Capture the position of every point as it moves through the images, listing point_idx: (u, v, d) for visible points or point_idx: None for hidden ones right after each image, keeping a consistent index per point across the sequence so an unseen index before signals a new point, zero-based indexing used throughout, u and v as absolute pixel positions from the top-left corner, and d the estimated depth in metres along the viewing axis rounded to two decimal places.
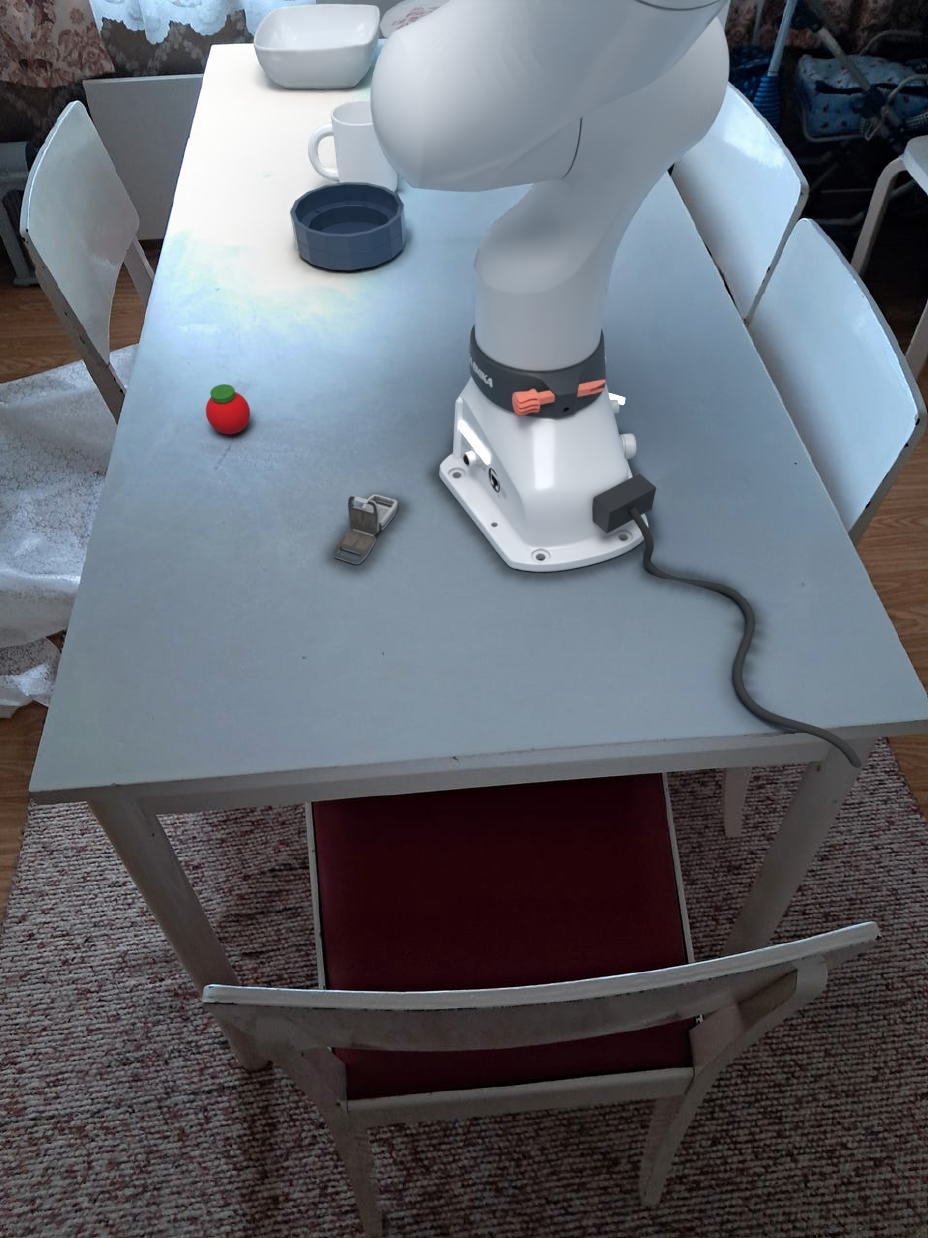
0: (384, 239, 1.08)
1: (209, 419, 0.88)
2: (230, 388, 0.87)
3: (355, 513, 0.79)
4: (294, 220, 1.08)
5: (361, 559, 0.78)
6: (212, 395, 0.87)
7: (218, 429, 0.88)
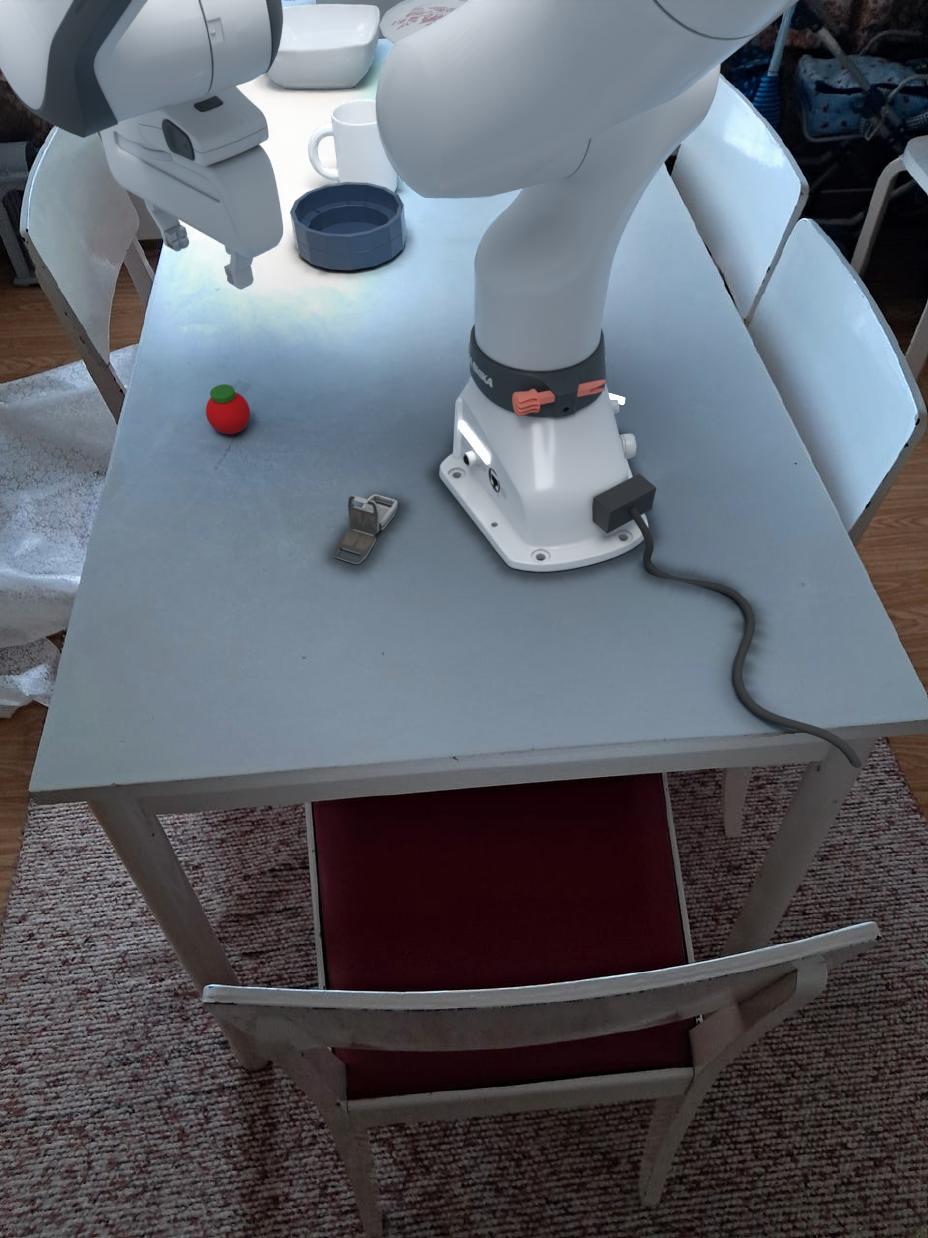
0: (384, 239, 1.08)
1: (209, 419, 0.88)
2: (230, 388, 0.87)
3: (355, 513, 0.79)
4: (294, 220, 1.08)
5: (361, 559, 0.78)
6: (212, 395, 0.87)
7: (218, 429, 0.88)
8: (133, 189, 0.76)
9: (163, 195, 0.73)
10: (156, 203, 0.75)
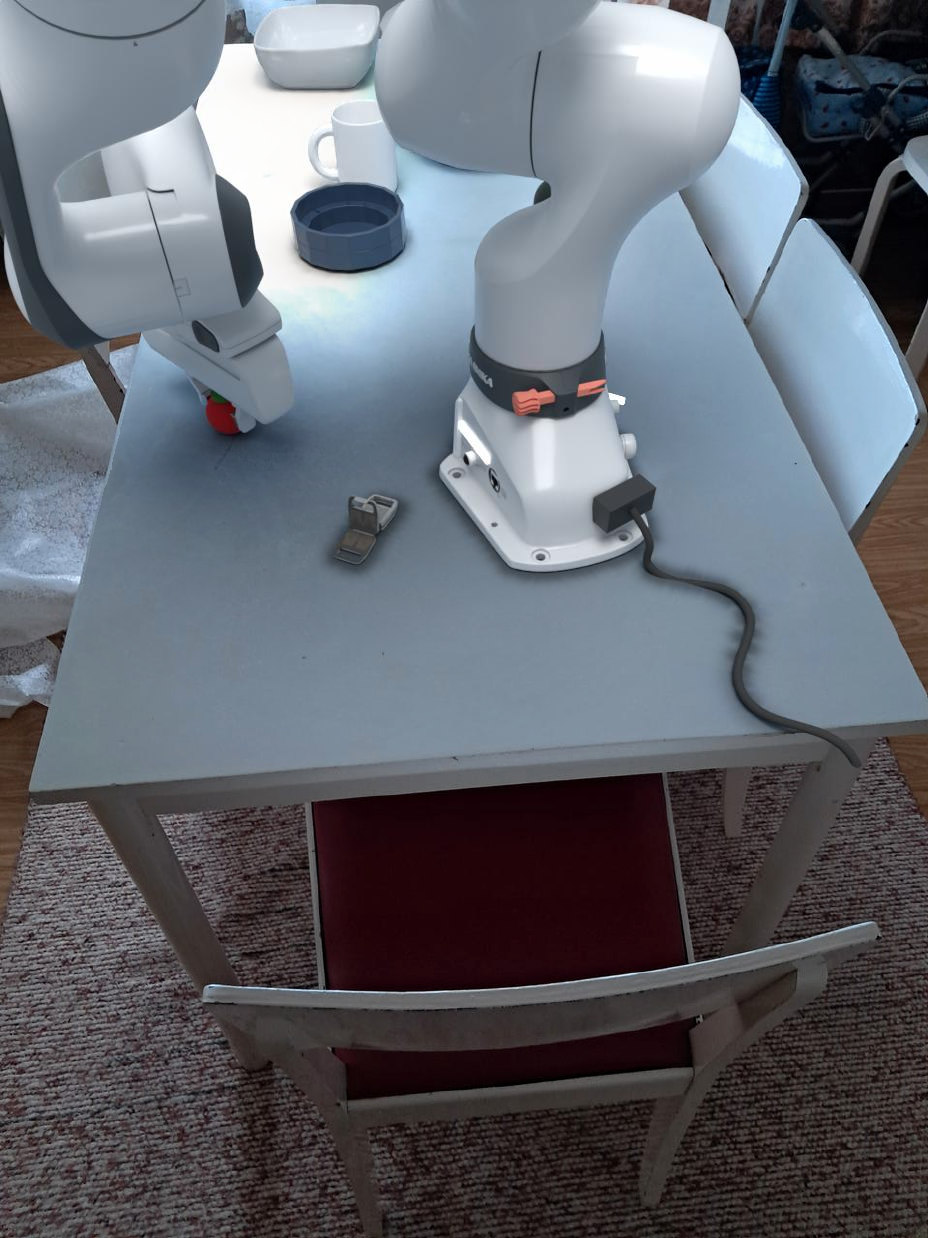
0: (384, 239, 1.08)
1: (209, 419, 0.88)
2: None
3: (355, 513, 0.79)
4: (294, 220, 1.08)
5: (361, 559, 0.78)
6: (212, 395, 0.87)
7: (218, 429, 0.88)
8: (163, 354, 0.87)
9: (190, 364, 0.84)
10: (184, 368, 0.86)
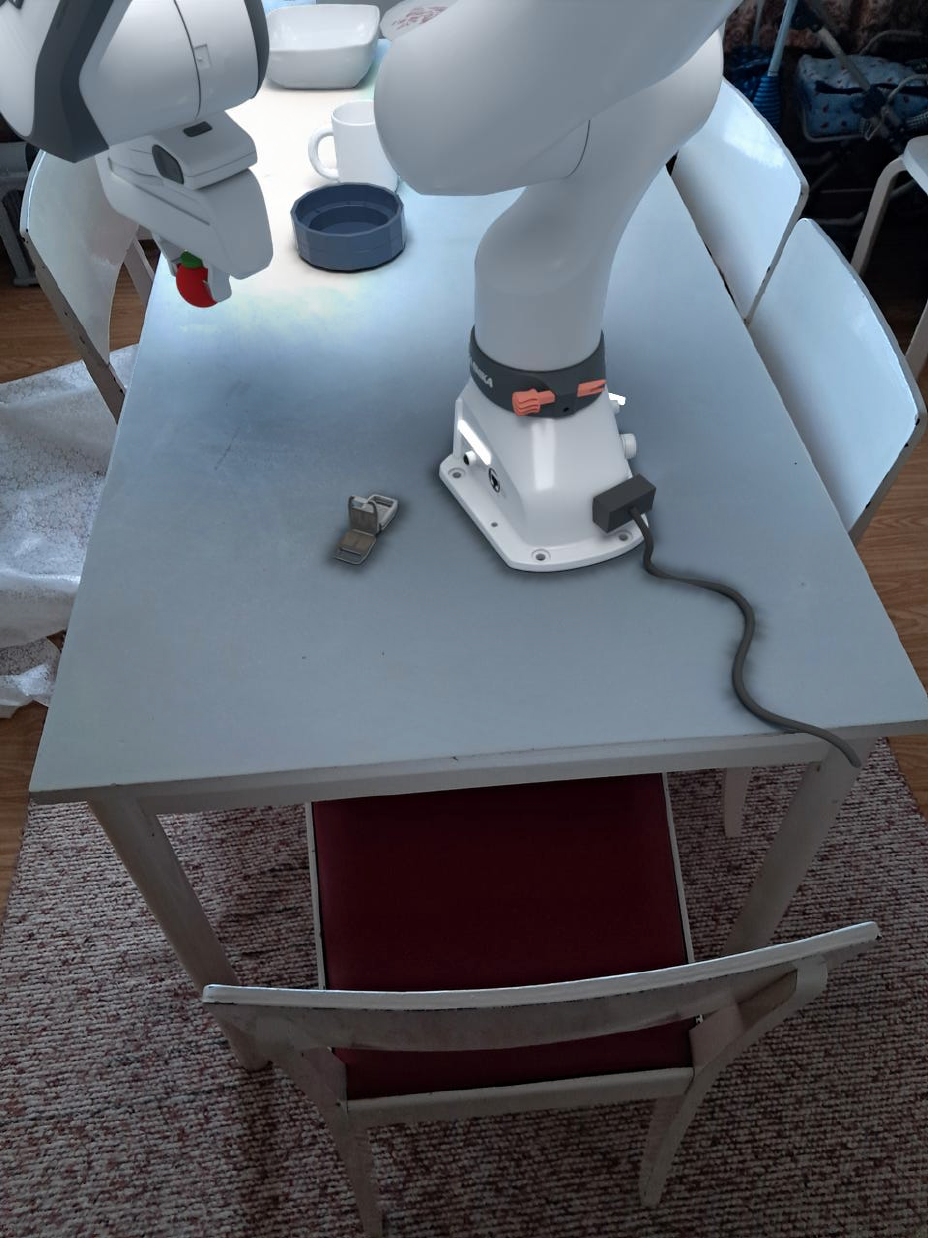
0: (384, 239, 1.08)
1: (179, 288, 0.78)
2: None
3: (355, 513, 0.79)
4: (294, 220, 1.08)
5: (361, 559, 0.78)
6: (182, 259, 0.77)
7: (189, 300, 0.79)
8: (127, 213, 0.77)
9: (155, 219, 0.74)
10: (150, 227, 0.76)
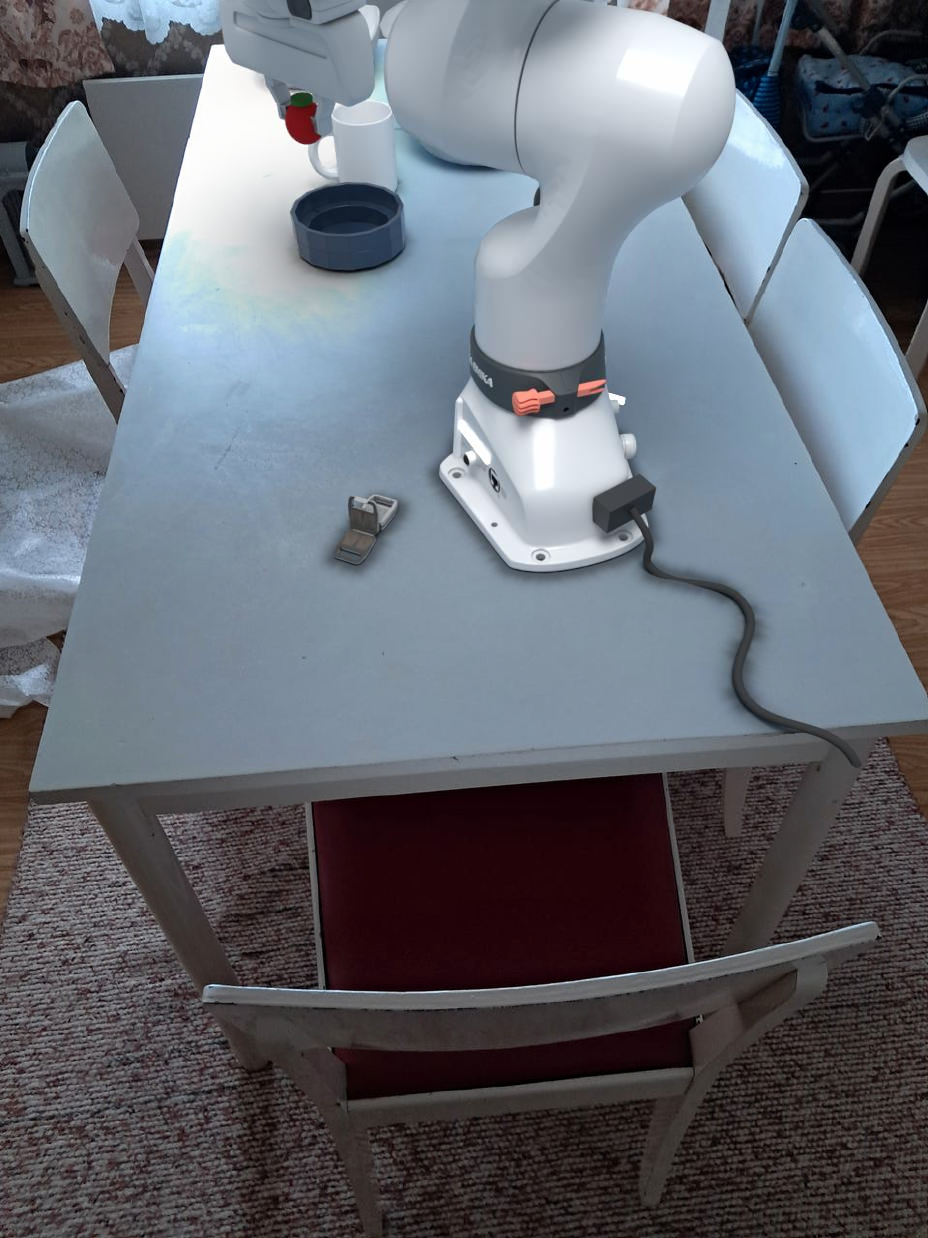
0: (384, 239, 1.08)
1: (289, 125, 0.95)
2: (308, 94, 0.94)
3: (355, 513, 0.79)
4: (294, 220, 1.08)
5: (361, 559, 0.78)
6: (292, 99, 0.93)
7: (297, 136, 0.95)
8: (246, 62, 0.94)
9: (274, 62, 0.91)
10: (266, 71, 0.92)
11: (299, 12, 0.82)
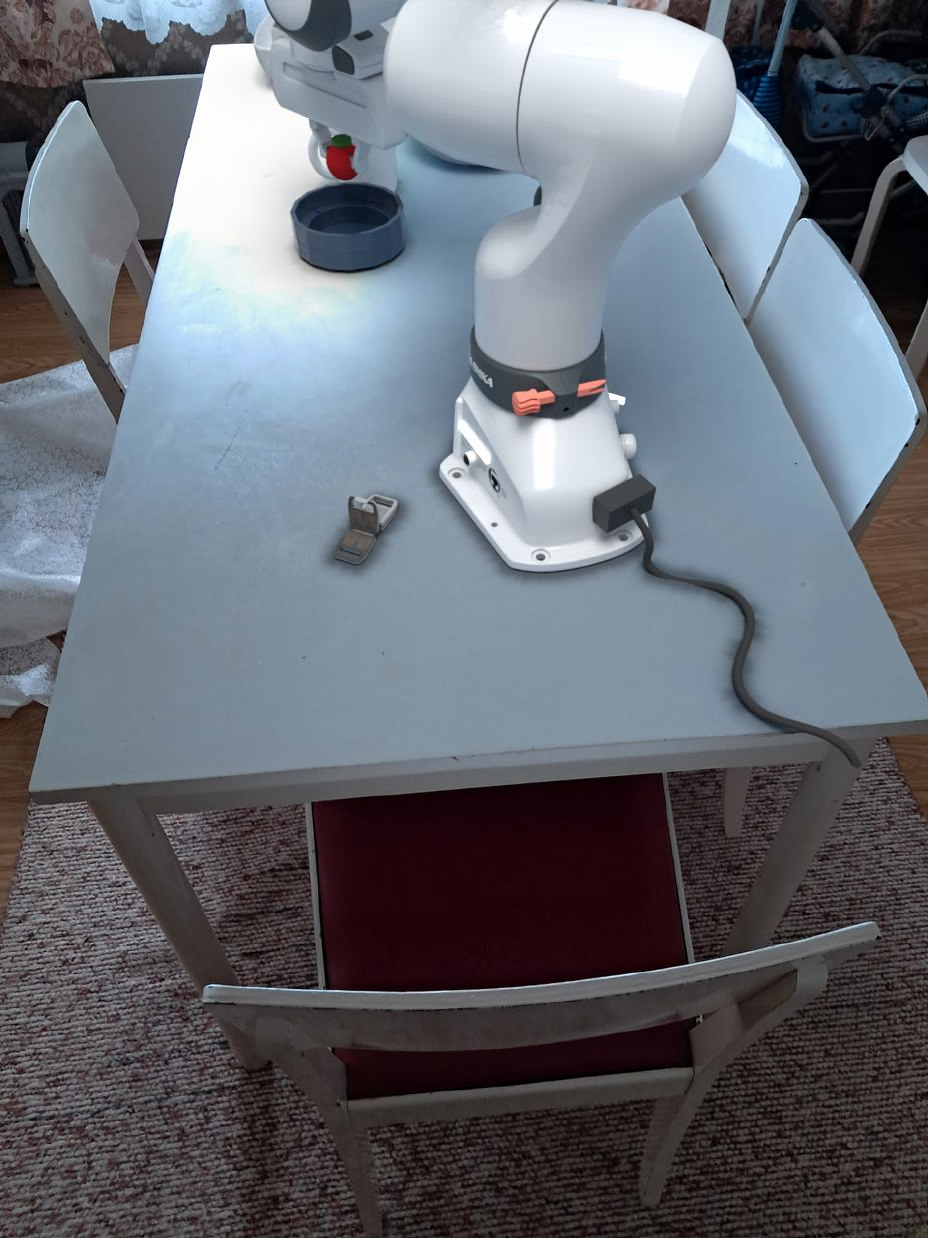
0: (384, 239, 1.08)
1: (329, 163, 1.05)
2: (347, 136, 1.04)
3: (355, 513, 0.79)
4: (294, 220, 1.08)
5: (361, 559, 0.78)
6: (333, 140, 1.04)
7: (336, 173, 1.05)
8: (292, 107, 1.04)
9: (318, 108, 1.01)
10: (311, 115, 1.03)
11: (343, 68, 0.92)
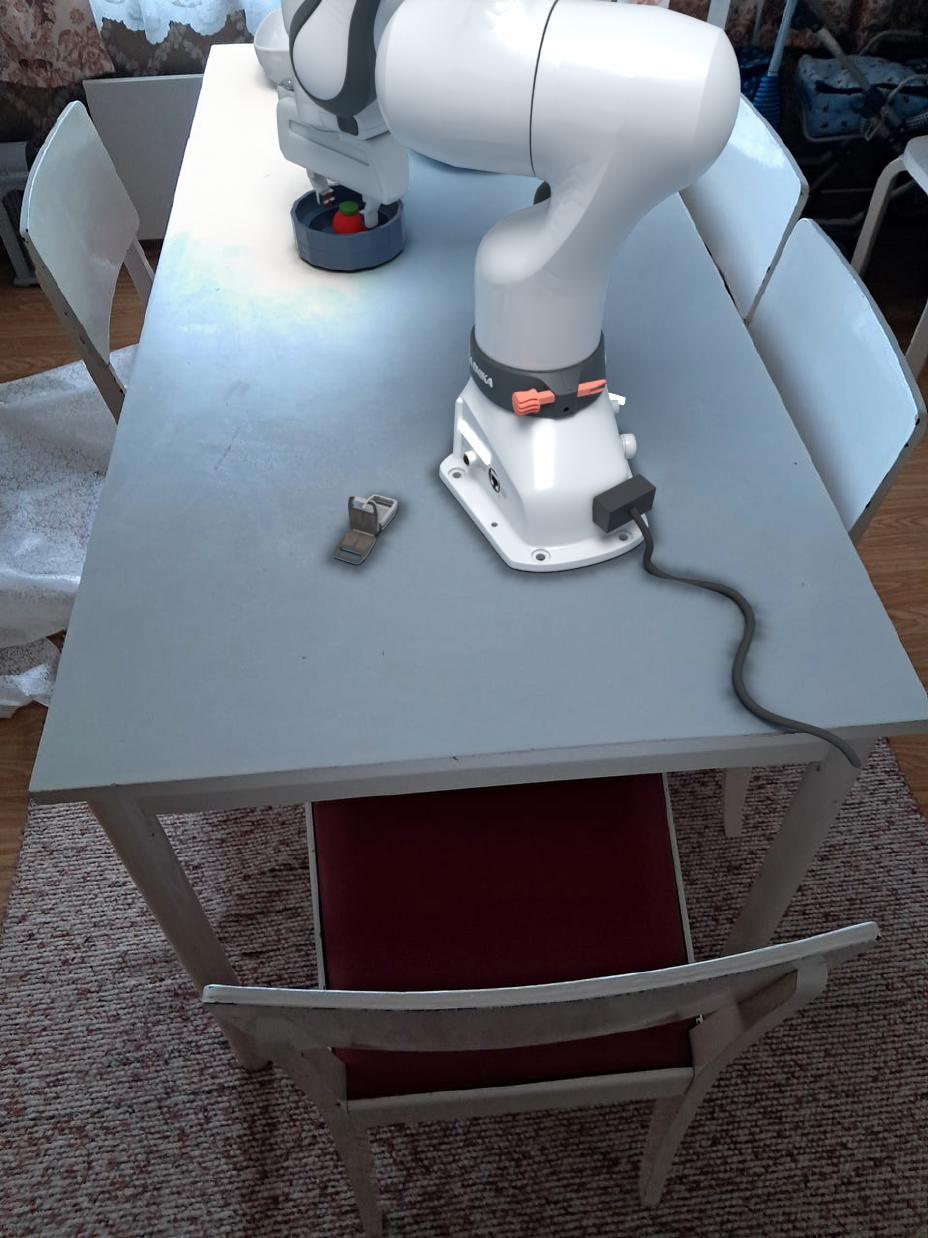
0: (384, 239, 1.08)
1: (336, 229, 1.11)
2: (354, 204, 1.10)
3: (355, 513, 0.79)
4: (294, 220, 1.08)
5: (361, 559, 0.78)
6: (341, 208, 1.09)
7: None
8: (297, 160, 1.09)
9: (322, 163, 1.06)
10: (315, 169, 1.07)
11: (347, 129, 0.97)
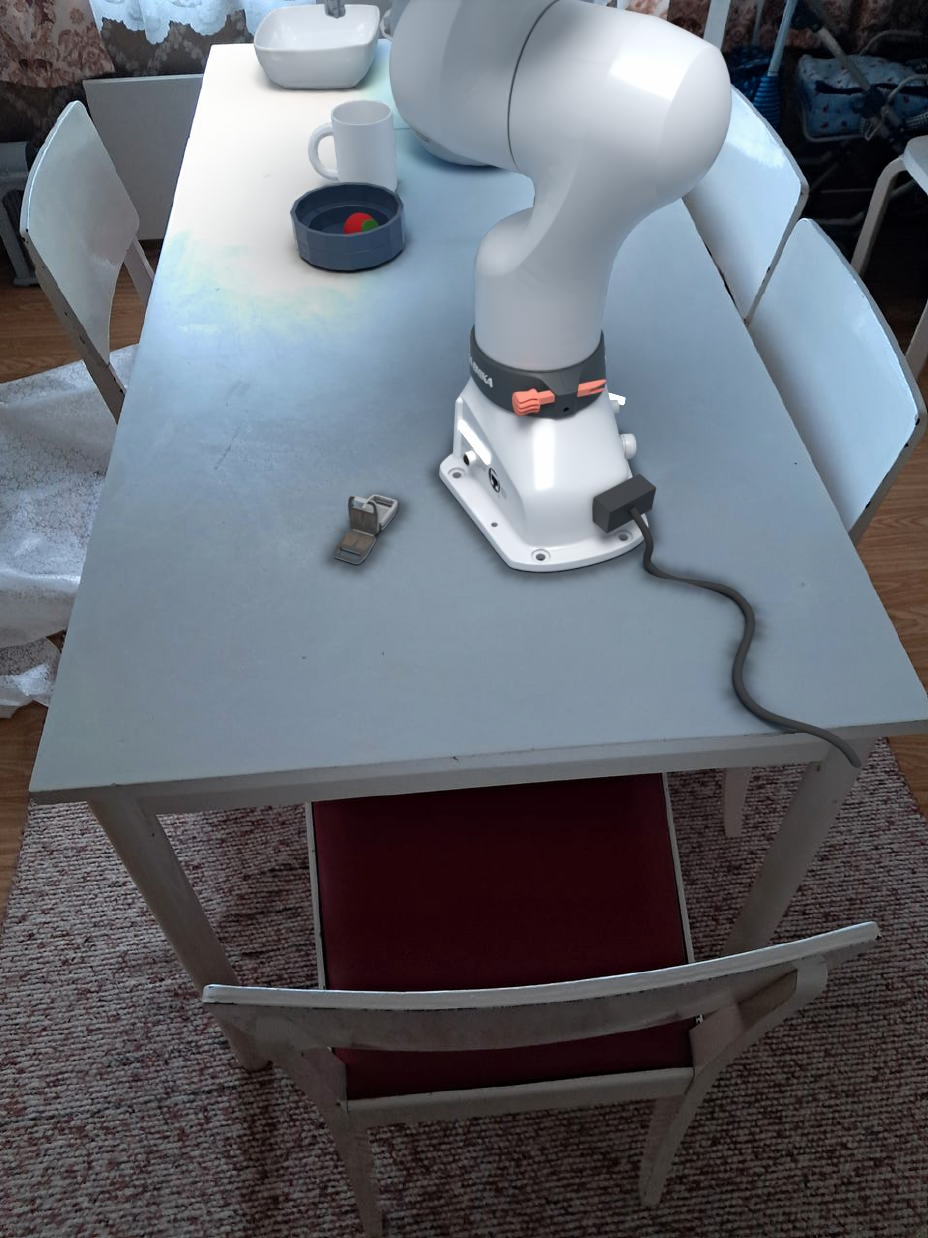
0: (384, 239, 1.08)
1: None
2: None
3: (355, 513, 0.79)
4: (294, 220, 1.08)
5: (361, 559, 0.78)
6: None
7: None
8: None
9: None
10: None
11: None
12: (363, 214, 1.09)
